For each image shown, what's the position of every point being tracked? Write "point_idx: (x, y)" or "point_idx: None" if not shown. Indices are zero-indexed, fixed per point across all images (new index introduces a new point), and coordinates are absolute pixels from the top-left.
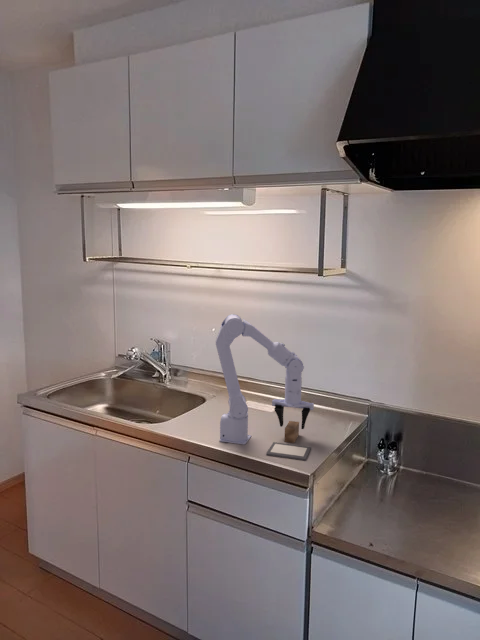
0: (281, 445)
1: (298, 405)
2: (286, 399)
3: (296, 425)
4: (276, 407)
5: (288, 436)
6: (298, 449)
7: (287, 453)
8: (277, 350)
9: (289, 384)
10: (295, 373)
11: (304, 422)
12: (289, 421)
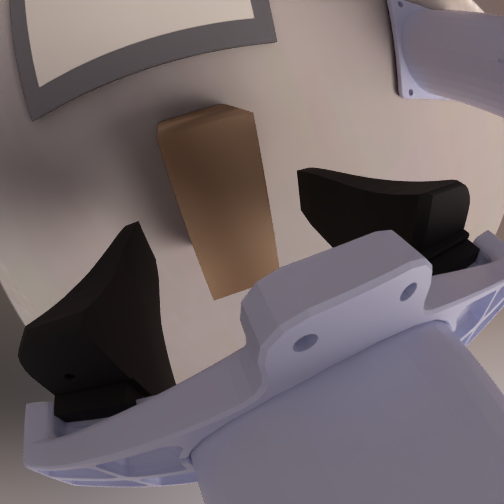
0: (204, 12)
1: (164, 420)
2: (489, 382)
3: (194, 236)
4: (456, 235)
5: (204, 114)
6: (75, 27)
7: None
8: None
9: None
10: None
11: (101, 257)
12: (277, 268)
